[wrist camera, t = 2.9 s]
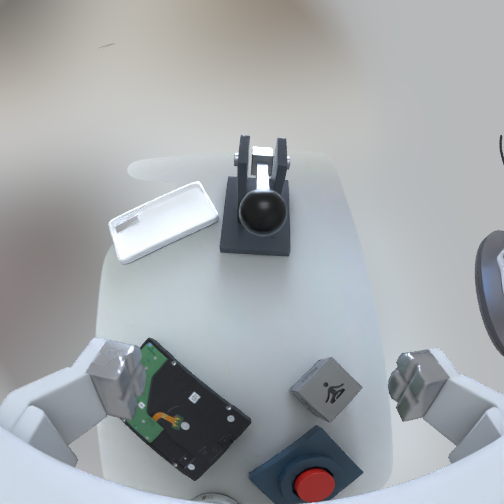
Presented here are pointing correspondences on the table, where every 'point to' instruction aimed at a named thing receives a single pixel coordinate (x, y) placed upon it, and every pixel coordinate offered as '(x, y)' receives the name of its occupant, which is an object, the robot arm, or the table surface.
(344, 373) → the dice cube
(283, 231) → the bracket
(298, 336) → the table surface
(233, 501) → the spray can
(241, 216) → the lever
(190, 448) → the disk drive
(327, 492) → the button
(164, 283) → the table surface
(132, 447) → the table surface
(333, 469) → the button box
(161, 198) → the phone case
